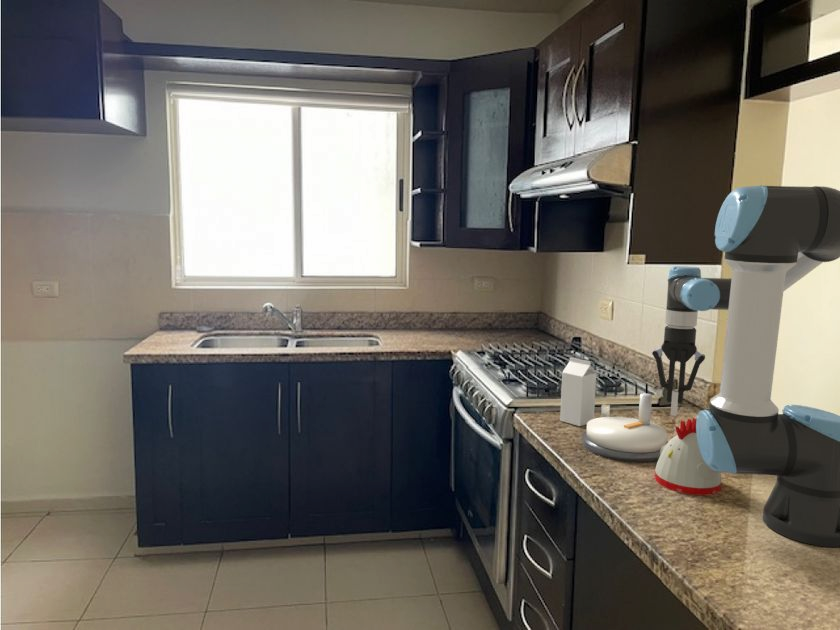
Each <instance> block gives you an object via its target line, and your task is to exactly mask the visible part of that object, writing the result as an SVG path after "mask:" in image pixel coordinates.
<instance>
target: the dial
mask: <svg viewBox="0 0 840 630" xmlns="http://www.w3.org/2000/svg"><path fill="white" fill-rule="evenodd" d="M652 399H653V394H651V393H644V392H643V393H640V394H639V403H638V404H639V405H638V418H632V417H625V416H609V417H601V416H600V417H596V418H595V417H594V419H592V420H590V421H588V422H587V424H586V430H585V431H586V437H587V438H588V440H590V441H591V442H592V443H594V444H596V445H599V446H601V447H604V448H608V449H612V450H617V451H623V452H632V453H648V452H655V451H659V450H660V449H661V447H662V446H663V445H666V440H667V437H668V432H667V430H666V429H665V428H664V427H662V426H660V425H658V424H656V423H653V422H651V415H652V401H653V400H652ZM667 441H668V440H667Z"/></svg>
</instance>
